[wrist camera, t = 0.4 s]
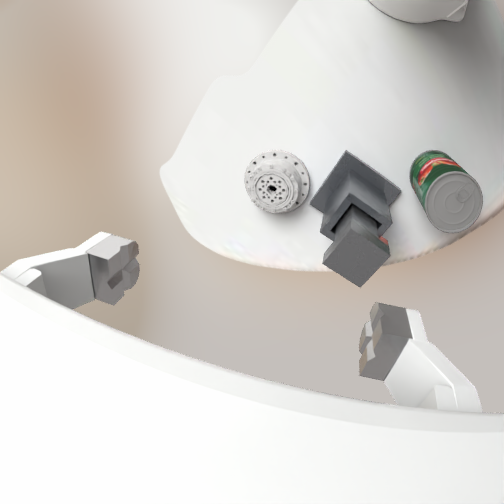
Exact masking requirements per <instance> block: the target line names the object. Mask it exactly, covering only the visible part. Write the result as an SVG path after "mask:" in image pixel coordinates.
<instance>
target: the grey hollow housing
mask: <svg viewBox="0 0 504 504" xmlns="http://www.w3.org/2000/svg"><path fill="white" fill-rule="evenodd" d="M400 192H401V190H400V188H399V187H397V186H396V185H395V184H393V183H392V182H391V181H389V180H388V179H387V178H385V177H384V176H383V175H381V174H380V173H378V172H377V171H376V170H374V169H373V168H371V167H370V166H369V165H367V164H366V163H364V162H363V161H362V160H360V159H359V158H357V157H356V156H354V155H353V154H351V153H350V152H348V151H347V150H345V152H344V153H343V155H342V156H341V158H340V159H339V161H338V162H337V164H336V165H335V167H334V168H333V170H332V171H331V172H330V174H329V175H328V177H327V178H326V180H325V181H324V183H323V184H322V186H321V187H320V188H319V190H318V191H317V193H316V194H315V196H314V197H313V199H312V200H311V201H310V205H312V206H313V207H315V208H316V209H318V210H320V211H321V212H323V213H324V214H323V219H322V224H321V229H320V233H322V234H323V235H325V236H326V237H328V238H329V239H331V240H333V241H334V240H335V232H336V223H337V221H338V220H339V219H340V217H341V216H342V215H343V213H344V212H345V211H346V209H347V208H348V207H349V206H350V204H351V203H353V204H354V205H356V206H357V207H359V208H360V209H362V210H363V211H365V212H366V213H367V214H369V215H370V216H372V217H373V218H374V219H376V224H377V231H378V238H379V239H380V240H381V241H383V242H384V243H386V244H387V245H388V241H387V240H386V239H385V238H383V237H382V235H383V233H384V232H385V231H386V230H387V229H388V228H389V226H390V225H391V224H392V219H391V215H390V211H389V206H390V204H391V203H392V202H393V201H394V199H395V198H396V197H397V196H398V194H399V193H400Z"/></svg>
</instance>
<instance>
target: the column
mask: <svg viewBox="0 0 504 504" xmlns="http://www.w3.org/2000/svg"><path fill="white" fill-rule="evenodd" d="M389 257H390V251H389V246H388V245H387V244H386V243H384V242H383V241H381V240H380V239H379V238H378V231H377V224H376V219H374V218H373V217H372V216H370V215H369V214H367V213H366V212H365V211H363V210H362V209H360V208H359V207H357V206H356V205H354V204H353V203H351V204H350V206H349V207H348V208H347V209H346V211H345V212H344V213H343V215H342V216H341V217H340V219H339V220H338V221H337V223H336V232H335V240H334V242H333V243H332V244H331V246H330V247H329V248H328V249H327V251H326V252H325V253H324V257H323V263H322V264H324V265H325V266H327V267H329V268H330V269H332V270H333V271H335V272H336V273H338V274H340V275H341V276H343V277H344V278H346V279H347V280H349V281H351V282H352V283H354V284H355V285H357V286H358V287H361V286H362V285H363V284H364V283H365V282H366V281H367V280H368V279H369V278H370V277H371V276H372V275H373V274H374V273H375V272H376V271H377V269H379V267H380V266H381V265H382V264H383V263H384V262H385V261H386V260H387V259H388V258H389Z"/></svg>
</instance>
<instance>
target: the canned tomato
mask: <svg viewBox="0 0 504 504" xmlns="http://www.w3.org/2000/svg"><path fill="white" fill-rule="evenodd" d="M410 183H411V185H412V188H413V189H414V191H415V193H416V195H417V197H418V199H419V200H420V202H421V204H422V206H423V208H424V210H425V212H426V214H427V217H428V219H429V221H430V222H431V223H432V224H433V226H435V227H436V228H437V229H439V230H441V231H443V232H446V233H457V232H461V231H464V230H466V229H467V228H469V227H470V226H471V225H472V224H474V222H475V221H476V220H477V218H478V217H479V215H480V212H481V209H482V204H483V196H482V192H481V189H480V187H479V185H478V183H477V182H476V180H475V179H474V178H472V177H471V176H470V175H469V174H468V173H467V172H466V171H465V170H464V169H463V168H461V167H460V166H459V165H458V164H457V163H456V162H455V161H454V160H453V159H451V158H450V157H449V156H448V155H447V154H445V153H444V152H441V151H438V150H429V151H426V152H423V153H422V154H420V155H419V156H418V157H417V158H416V159H415V160H414V161H413V163H412V165H411V168H410Z"/></svg>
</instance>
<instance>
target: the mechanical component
mask: <svg viewBox="0 0 504 504" xmlns="http://www.w3.org/2000/svg"><path fill="white" fill-rule="evenodd" d="M274 153H275V154H276V155H275V154H274ZM255 162H256V163H255ZM295 162H297V163H298V164H296V163H295ZM303 172H304V173H303ZM306 183H307V184H306ZM270 185H271V186H270ZM269 186H270V188H269ZM309 186H310V178H309V174H308V171H307V169H306V167H305V166H304V164H303V162H302V161H300V160H299V159H298V158H297V157H296V156H295V155H293V154H291V153H289V152H286V151H283V150H269V151H266V152H262V153H261V154H259V155H258V156H257V157H255V158H254V159H253V160H252V161H251V162H250V164H249V165H248V167H247V170H246V172H245V188H246V190H247V193H248V195H249V196H250V198H251V201H252V202H254V203H255V206H258V207H259V208H260V209H261V210H264V211H268V212H272V213H285V212H290V211H292V210H294V209H296V208H297V207H299V206H300V205H301V204H302V203H303V201H304V200H305V199H306V196H307V194H308V191H309ZM273 188H277V190H276V191H272V190H271V189H273Z"/></svg>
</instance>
